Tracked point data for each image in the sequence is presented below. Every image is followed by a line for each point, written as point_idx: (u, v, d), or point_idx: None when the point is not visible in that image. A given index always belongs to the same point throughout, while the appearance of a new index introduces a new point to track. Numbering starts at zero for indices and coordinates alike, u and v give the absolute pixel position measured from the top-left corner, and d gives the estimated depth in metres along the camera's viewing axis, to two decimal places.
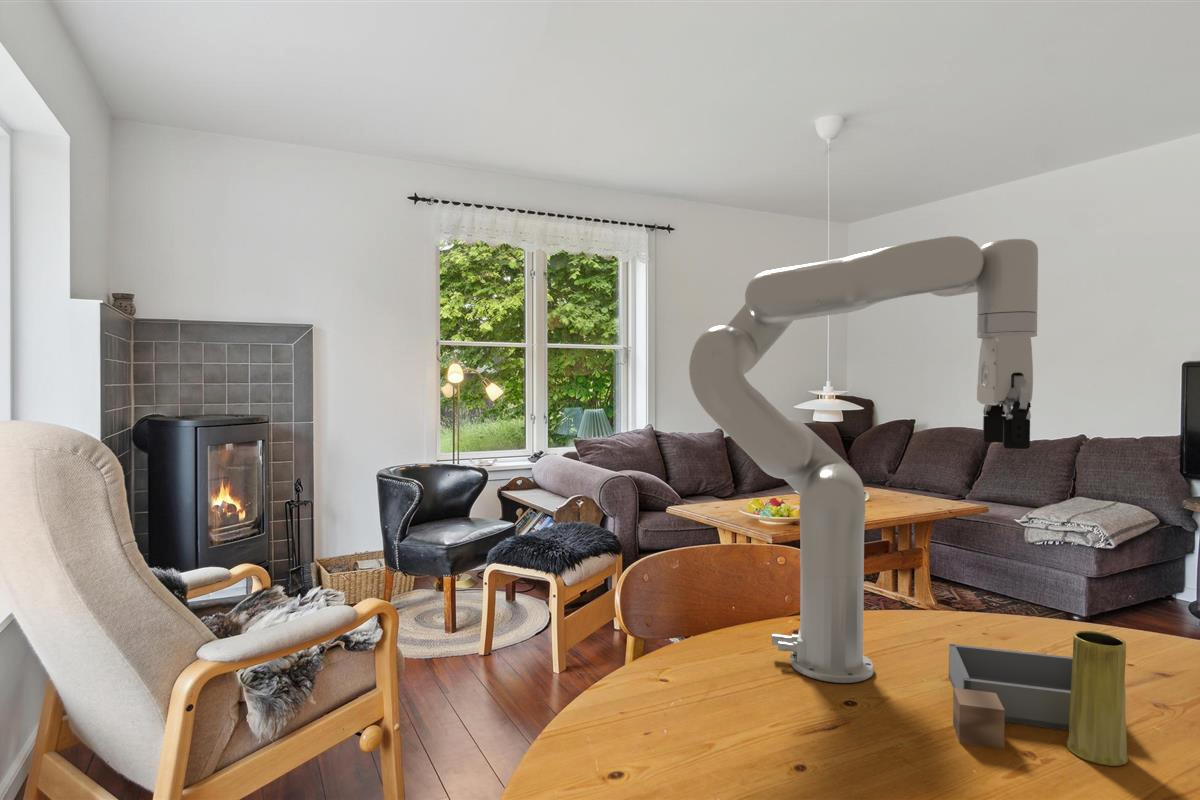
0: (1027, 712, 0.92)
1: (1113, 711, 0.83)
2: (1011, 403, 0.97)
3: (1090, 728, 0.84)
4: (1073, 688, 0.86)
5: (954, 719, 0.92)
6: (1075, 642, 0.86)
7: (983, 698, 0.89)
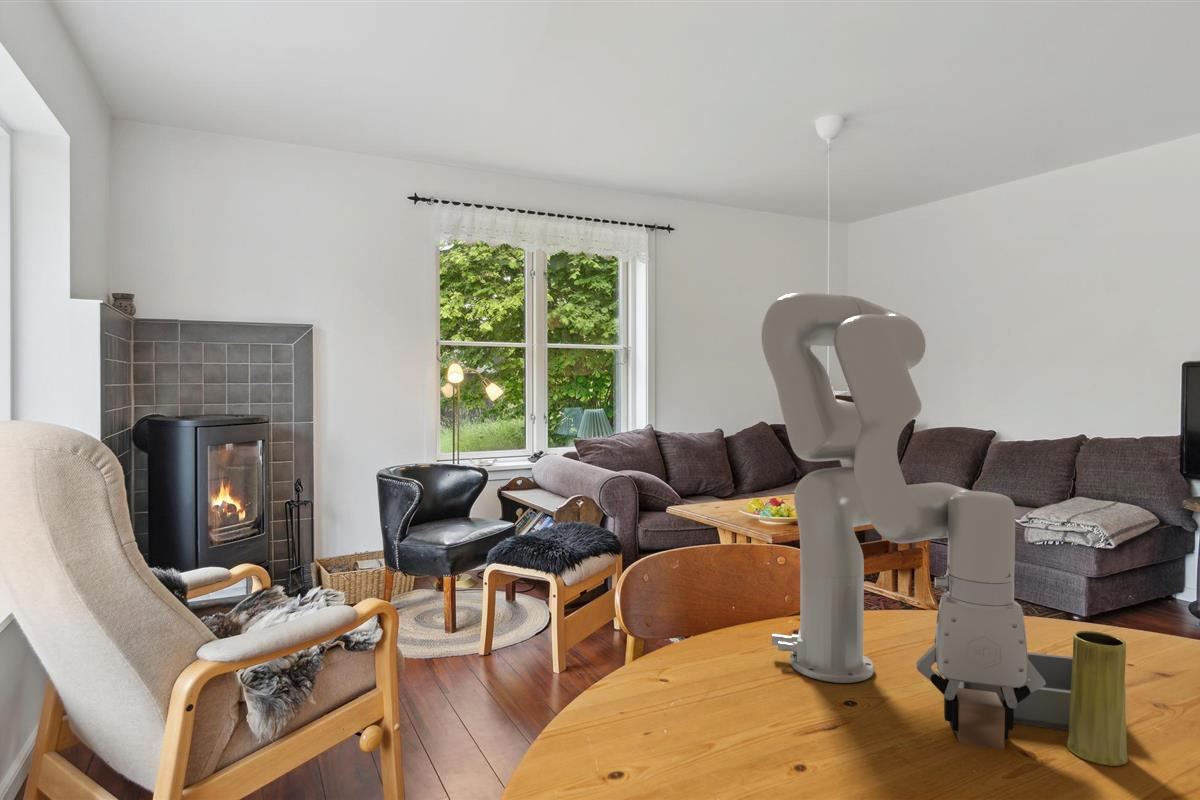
0: (1027, 712, 0.92)
1: (1113, 711, 0.83)
2: None
3: (1090, 728, 0.84)
4: (1073, 688, 0.86)
5: None
6: (1075, 642, 0.86)
7: (983, 698, 0.89)
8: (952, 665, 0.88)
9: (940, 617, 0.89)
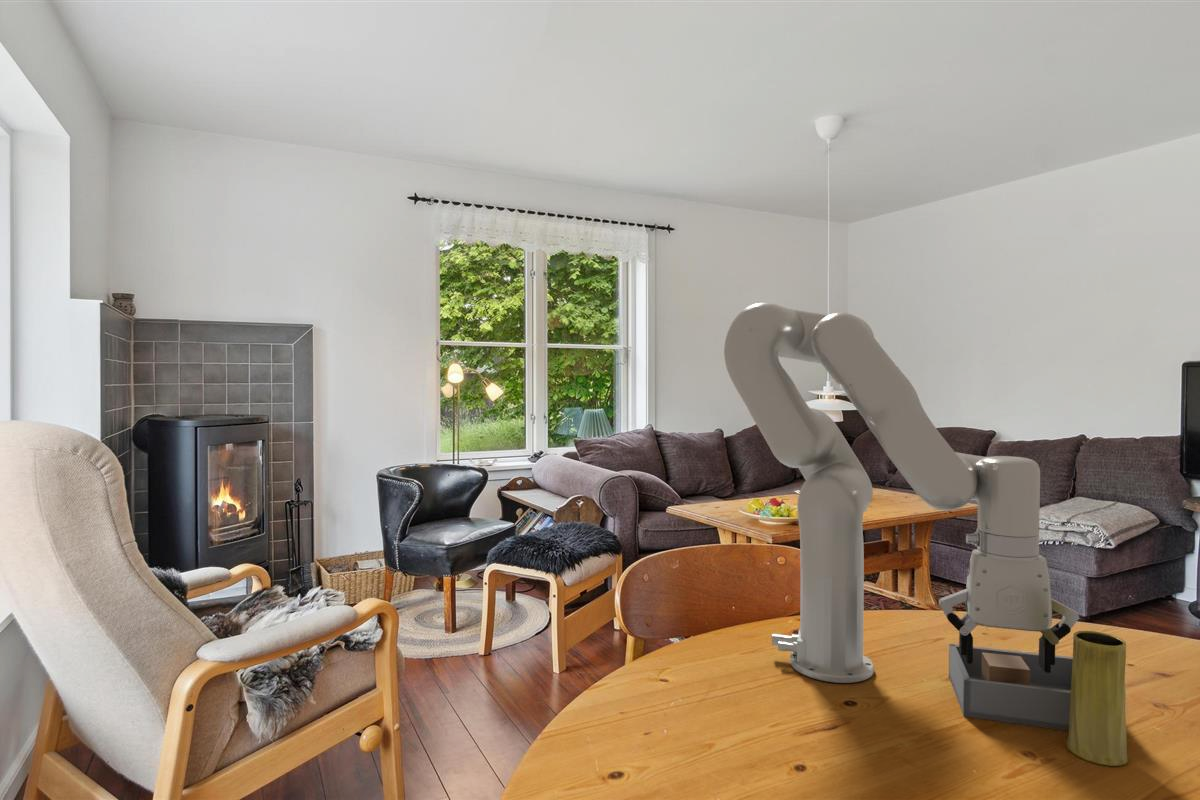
0: (1027, 712, 0.92)
1: (1113, 711, 0.83)
2: None
3: (1090, 728, 0.84)
4: (1073, 688, 0.86)
5: None
6: (1075, 642, 0.86)
7: (1009, 661, 0.99)
8: (983, 612, 0.97)
9: (971, 569, 0.99)
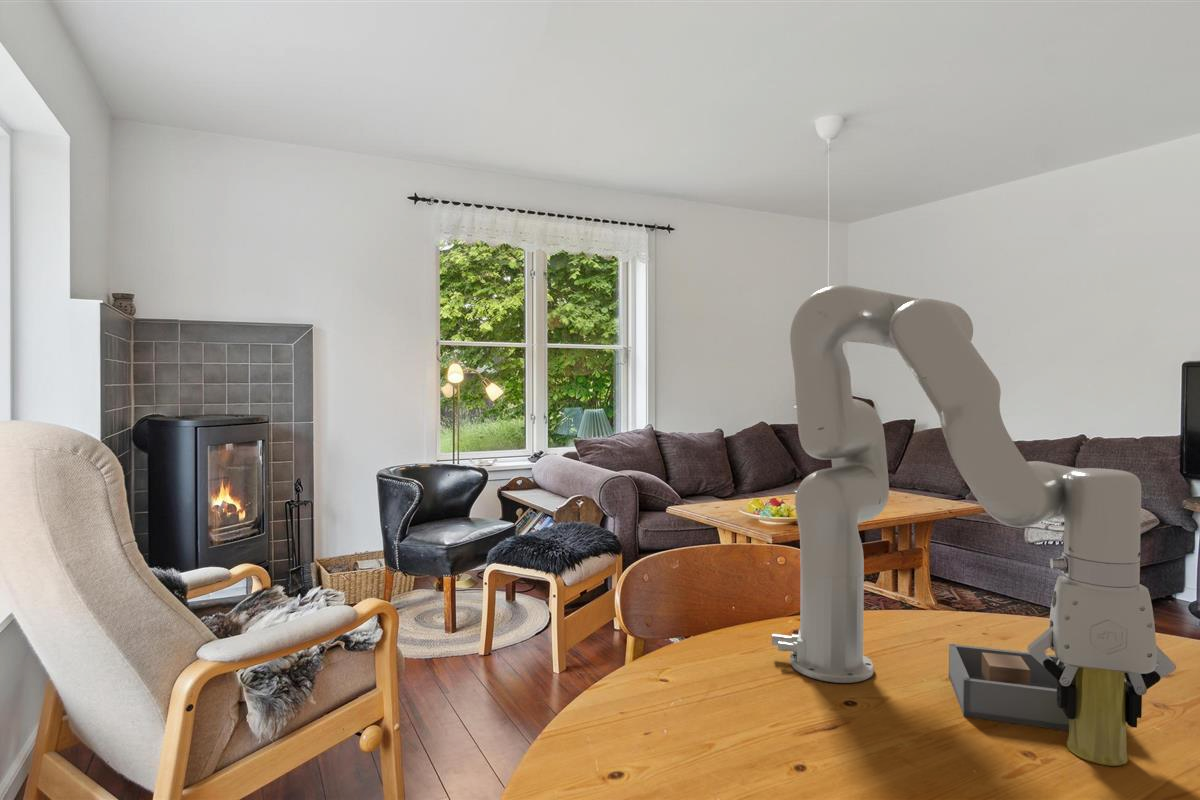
0: (1027, 712, 0.92)
1: (1112, 711, 0.83)
2: None
3: (1090, 728, 0.84)
4: None
5: None
6: None
7: (1009, 661, 0.99)
8: (1073, 650, 0.84)
9: (1059, 600, 0.85)
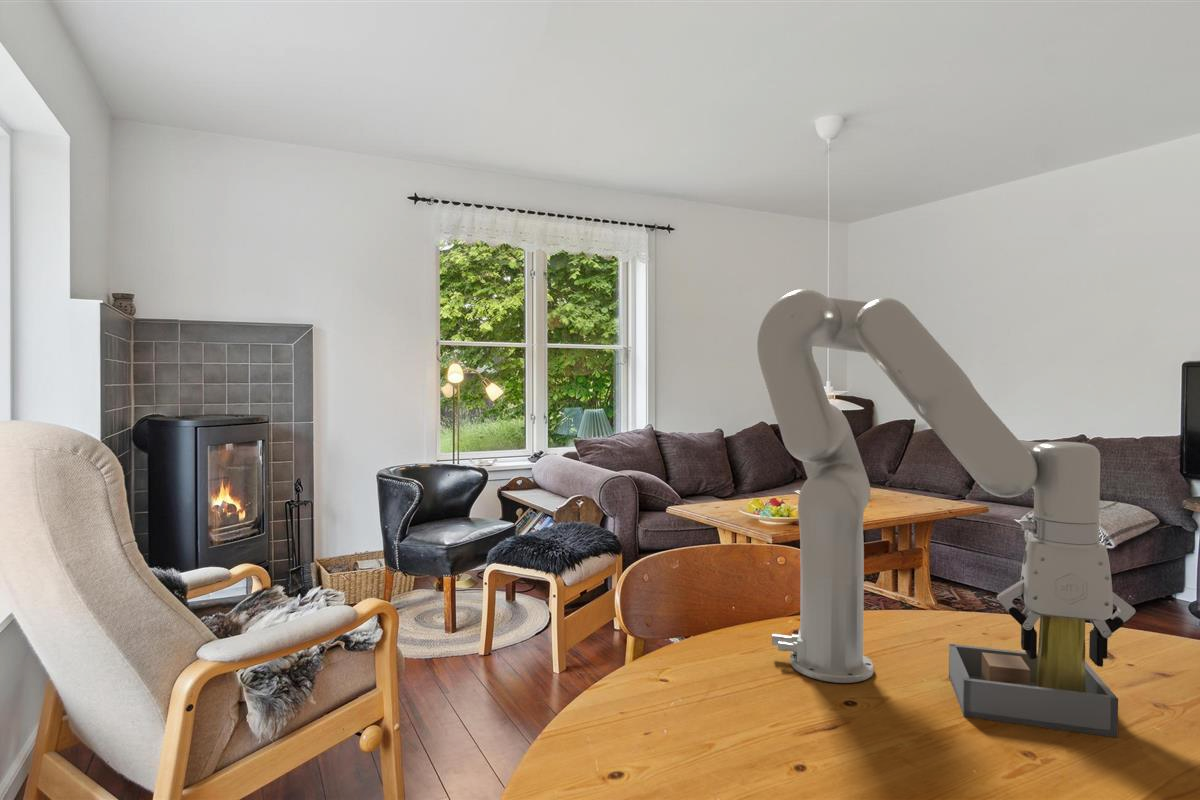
0: (1027, 712, 0.92)
1: (1074, 663, 0.94)
2: None
3: (1054, 679, 0.95)
4: (1040, 645, 0.98)
5: None
6: None
7: (1009, 661, 0.99)
8: (1041, 601, 0.95)
9: (1028, 557, 0.96)
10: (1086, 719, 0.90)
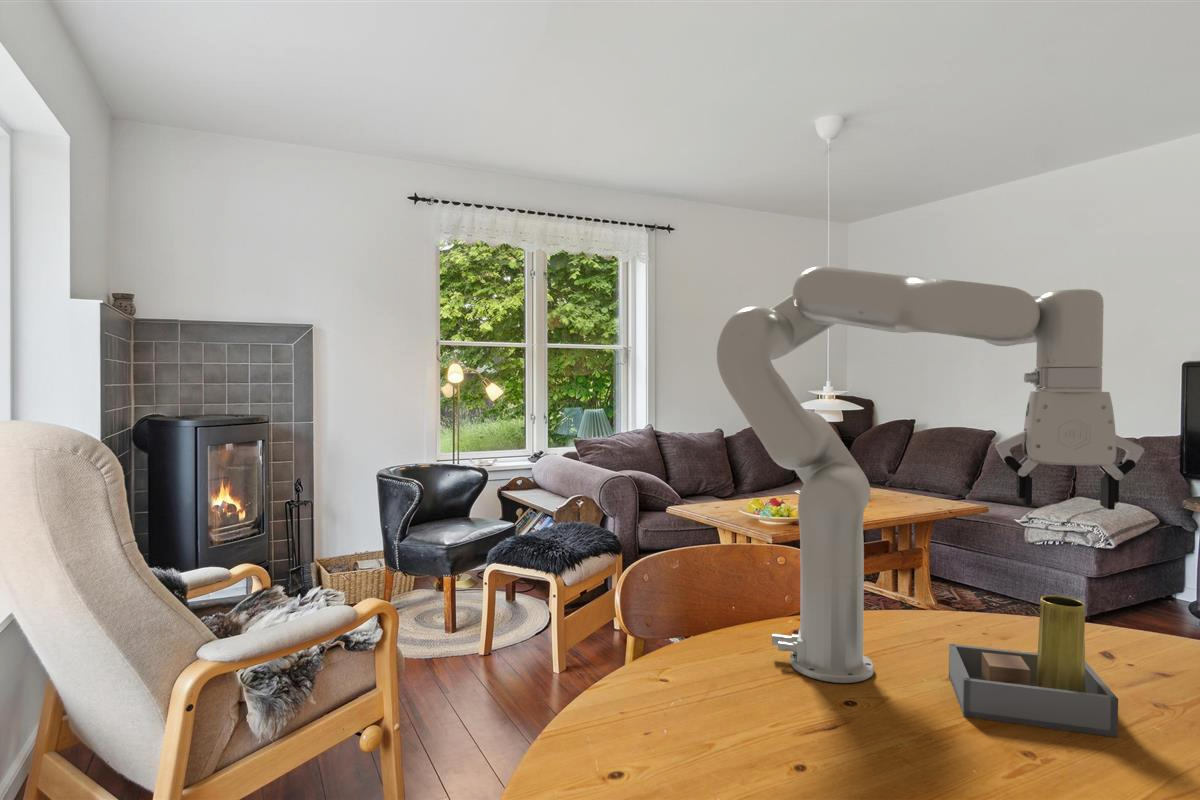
0: (1027, 712, 0.92)
1: (1073, 664, 0.94)
2: None
3: (1054, 679, 0.95)
4: (1040, 645, 0.98)
5: None
6: (1041, 604, 0.97)
7: (1009, 661, 0.99)
8: (1043, 449, 0.94)
9: (1031, 407, 0.96)
10: (1086, 719, 0.90)
